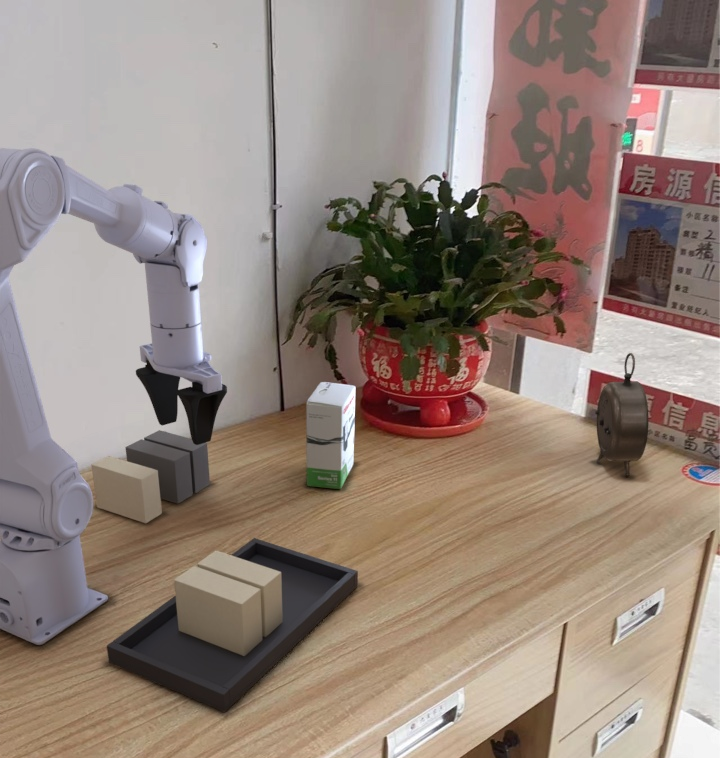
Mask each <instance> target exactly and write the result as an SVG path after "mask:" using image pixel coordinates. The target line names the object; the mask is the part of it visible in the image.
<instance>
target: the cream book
mask: <svg viewBox="0 0 720 758" xmlns="http://www.w3.org/2000/svg"><path fill="white" fill-rule="evenodd" d="M90 467H91V474H92V480H93V481H92V482H93V490H94V496H95V502H96V503H95V504H96V508H98V509H100V510H103V511H107V512H110V513H113V514H116V515H119V516H121V517H125V518H128V519H131V520H134V521H137V522H140V523H143V524H147V523H149V522H151V521H152V520H154V519H155V518H158V517H159V516H160V515H162V514H163V510H162V499H161V498H160V489H159V479H158V470H155V469H152V468H148V467H145V466H141V465H138V464H135V463H131V462H128V461H127V460H124V459H121V458H117V457H114V456H111V455H106V456H104V457H102V458H101V459H99V460H97V461H95V462H93V463H91V465H90Z"/></svg>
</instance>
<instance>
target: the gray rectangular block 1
mask: <svg viewBox="0 0 720 758" xmlns="http://www.w3.org/2000/svg"><path fill="white" fill-rule="evenodd" d="M125 453H126V454H125V457H126V461H128V462H131V463H135V464H138V465H141V466H145V467H148V468H152V469H155V470H158V479H159V489H160V499H161V500H164V501H167V502H171V503H174V504H176V505H177V504H181V503H182V502H183V501H186V500H187V499H189V498H190V497H192V496H194V493H193V490H192V477H191V464H190V453H189V452H185V451H182V450H178V449H174V448H171V447H167V446H164V445H160V444H156V443H153V442H149V441H146V440H144V439H142V438H141V439H139V440H137V441H134V442H133V443H130V444H128V445H127V446H125Z"/></svg>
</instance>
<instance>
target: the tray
mask: <svg viewBox="0 0 720 758" xmlns="http://www.w3.org/2000/svg"><path fill="white" fill-rule="evenodd" d="M231 555H232V556H235V557H238V558H241V559H244V560H247V561H250V562H253V563H256V564H258V565H261V566H264V567H267V568H270V569H273V570H276V571H279V572H281V582H282V621H283V622H282V623H281V624H280V625H279V626H278V627H277V628H276V629H274V630H273V631H272V632H271V633H270V634H269V635H268V636H267V637H264V636H262V641H261V642H260V643H259V644H258V645H257V646H255V647H254V648H253V649H252V650H251V651H250V652H249V653H248V654H247V655H245V656H242V655H240V654H237V653H235V652H232V651H230V650H227V649H225V648H222V647H219V646H217V645H214V644H212V643H209V642H207V641H204V640H201V639H199V638H196V637H194V636H191V635H189V634H186V633H184V632H181V631H179V627H178V616H177V606H176V595H174V596H172V597H171V598H170V599H169V600H167V601H166V602H164V604H161V606H159V607H157V609H155V610H153V611H152V612H151V613H149V614H148V615H146V617H143V618H142V619H141V620H140V621H138V622H136V624H134V625H133V626H132V627H130V628H129V629H127V630H126V631H125V632H123V633H122V634H121V635H119V636H117V637H116V638H115V639H114V640H112V641H111V642H110V643H109V644H107V645H106V652H107V659H108V663H109V664H112V665H113V666H116V667H118V668H120V669H123V670H125V671H127V672H130V673H133V674H134V675H137V676H139V677H141V678H143V679H146V680H149V681H151V682H153V683H155V684H158V685H159V686H162V687H165V688H167V689H169V690H172V691H174V692H177V693H179V694H182V695H184V696H186V697H188V698H191V699H193V700H195V701H198V702H200V703H202V704H205V705H206V706H209V707H211V708H214V709H216V710H218V711H221V712H222V713H223V712H224V713H226V712H227V711H228V710H229V709H230V708H231V707H232V706H233V705H235V703H236V702H237V701H239V700H240V699H241V697H243V696H244V695H245V694H246V693H247V692H248V691H249V690H250V689H251V688H252V687H253V686H254V685H256V684H257V682H258V681H260V680H261V679H262V678H263V676H265V675H266V674H267V673H268V672H270V670H271V669H272V668H273V667H274V666H275V665H276V664H277V663H278V662H279V661H281V660H282V659H283V658H284V657H285V656H286V655H287V654H288V653H289V652H290V651H291V650H292V649H294V647H296V645H298V644H299V643H300V642H301V641H302V640H303V639H304V638H305V637H306V636H307V635H308V634H309V633H310V632H311V631H312V630H314V628H315V627H316V626H317V625H319V623H320V622H322V621H323V620H324V619H325V618H326V617H327V616H328V615H329V614H330V613H331V612H332V611H333V610H335V608H336V607H338V605H339V604H341V603H342V602H343V601H344V600H346V598H347V597H348V596H349V595H350V594H351V593H353V591H355V589H356V588H358V586H359V585H358V584H359V583H358V581H359V571H358V570H357V569H353V568H350V567H346V566H344V565H340V564H337V563H334V562H331V561H327V560H325V559H321V558H318V557H315V556H312V555H309V554H306V553H304V552H303V553H302V552H300V551H297V550H293V549H290V548H288V547H284V546H281V545H278V544H274V543H271V542H268V541H266V540H262V539H260V538H255V537H253V538H252V539H251V540H249V541H248V542H247V543H245V544H244V545H243V546H241V547H240V548H239V549H237V550H236V551H234V552H233V553H232V554H231Z"/></svg>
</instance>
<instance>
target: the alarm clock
mask: <svg viewBox="0 0 720 758" xmlns="http://www.w3.org/2000/svg"><path fill="white" fill-rule="evenodd" d="M630 357H631V360H632V367H631V372H628V368H627V367H628V361H629V358H630ZM623 368H624V375H623V378H624V380H623V381H611V382H609V383H607V384H605V386H604V387H603V388H602V389H601V392H600V394H599V398H598V402H597V407H596V410H595V412H594V414H595V415H596V436H597V442H598V446H599V452H600V454H599V456H598V458H597V459H596V461H595V462H596V463H597V464H598V463H599V462H600V461H601V460H602V459H603V458H605V460H607V461H608V462H623V465H624V471H625V474H624V477H625V478H629V477H631V474H630V470H631V466H630V462H638V461H640V460H641V458H642V457H643V455H644V453H645V450H646V446H647V442H648V435H649V406H648V398H647V395H646V391H645V388H644V386H643V384H641V382H639V381H638V380H633V381H632V380H631V379H632V376H633V375H634V371H635V369H636V358H635V355H634V354H633V353H632V352H629V353H627V355H626V357H625V360H624V366H623Z"/></svg>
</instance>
